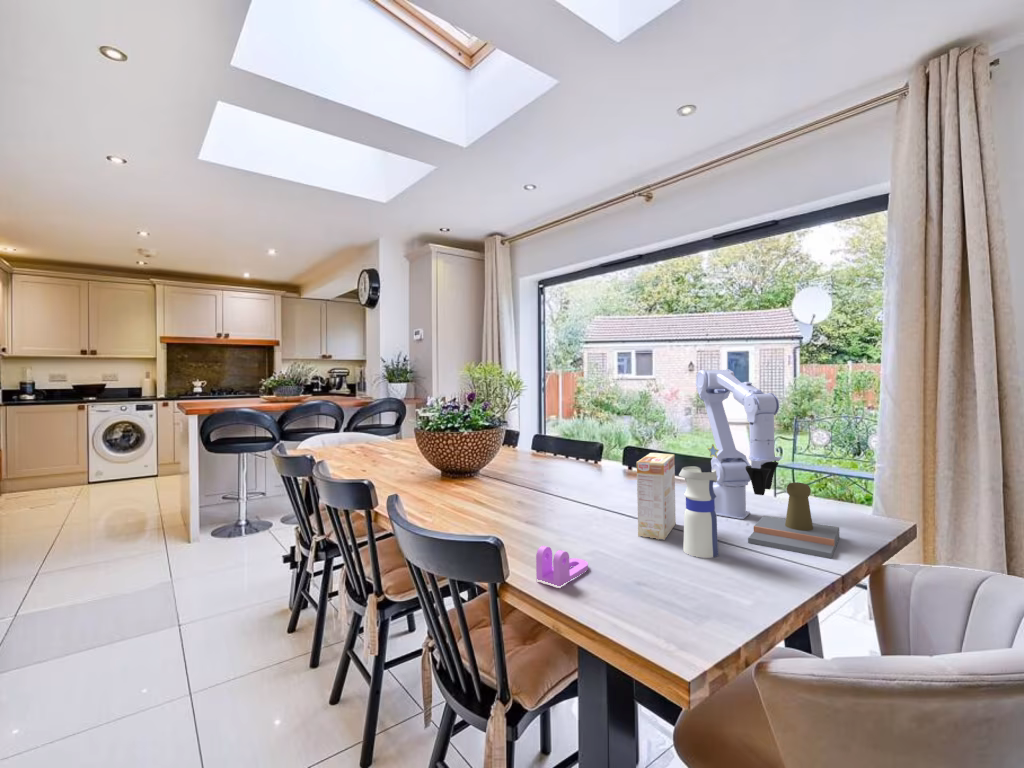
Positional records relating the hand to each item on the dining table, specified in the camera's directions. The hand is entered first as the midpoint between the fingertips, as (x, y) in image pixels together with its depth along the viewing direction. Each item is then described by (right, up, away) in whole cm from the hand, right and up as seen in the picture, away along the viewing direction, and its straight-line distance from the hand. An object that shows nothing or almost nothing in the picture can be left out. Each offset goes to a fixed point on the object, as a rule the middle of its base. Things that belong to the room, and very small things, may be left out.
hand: (762, 491), depth 125 cm
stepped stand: (+4, -10, -7) cm, 13 cm away
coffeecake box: (-27, -11, +3) cm, 29 cm away
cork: (+7, -8, -5) cm, 11 cm away
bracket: (-54, -12, -24) cm, 61 cm away
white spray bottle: (-21, -11, -13) cm, 27 cm away
